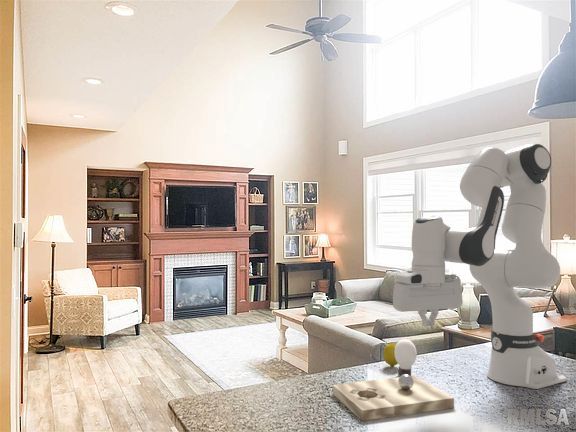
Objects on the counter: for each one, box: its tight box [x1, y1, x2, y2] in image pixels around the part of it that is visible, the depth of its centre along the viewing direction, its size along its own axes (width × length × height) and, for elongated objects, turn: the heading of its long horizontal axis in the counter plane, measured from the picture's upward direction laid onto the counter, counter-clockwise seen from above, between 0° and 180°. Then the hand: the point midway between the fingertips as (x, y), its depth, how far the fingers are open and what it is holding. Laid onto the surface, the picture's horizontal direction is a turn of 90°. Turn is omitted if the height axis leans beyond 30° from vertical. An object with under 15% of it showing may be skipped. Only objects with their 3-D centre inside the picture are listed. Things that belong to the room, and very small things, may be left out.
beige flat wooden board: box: [332, 375, 455, 422], centre depth 124 cm, size 26×18×2 cm
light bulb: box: [394, 338, 418, 376], centre depth 145 cm, size 7×7×11 cm
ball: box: [398, 374, 414, 390], centre depth 125 cm, size 4×4×4 cm
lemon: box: [383, 341, 399, 368], centre depth 152 cm, size 6×6×8 cm
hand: (428, 325), depth 128 cm, fingers closed
